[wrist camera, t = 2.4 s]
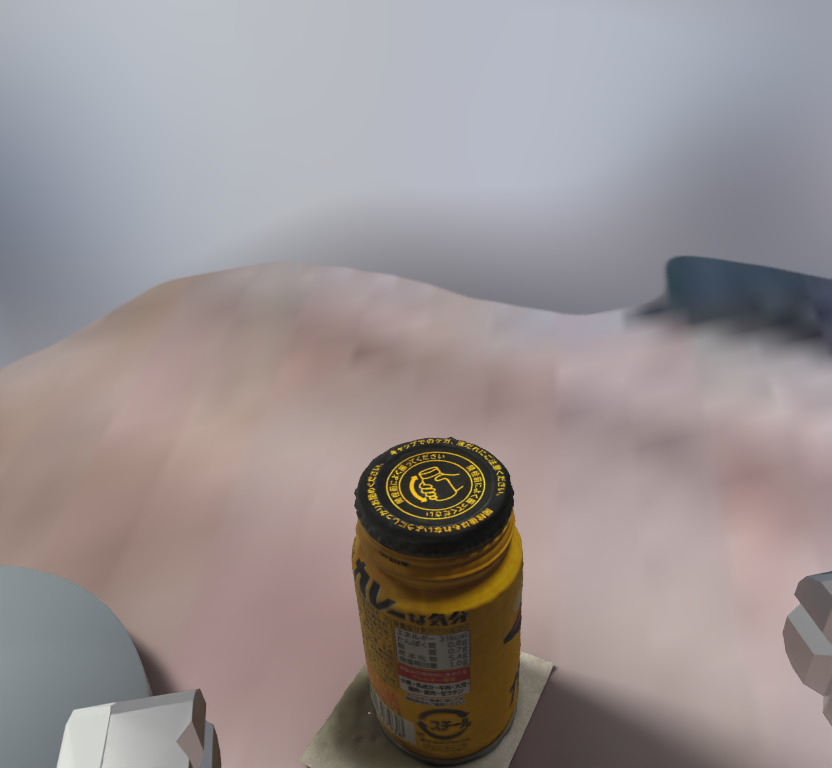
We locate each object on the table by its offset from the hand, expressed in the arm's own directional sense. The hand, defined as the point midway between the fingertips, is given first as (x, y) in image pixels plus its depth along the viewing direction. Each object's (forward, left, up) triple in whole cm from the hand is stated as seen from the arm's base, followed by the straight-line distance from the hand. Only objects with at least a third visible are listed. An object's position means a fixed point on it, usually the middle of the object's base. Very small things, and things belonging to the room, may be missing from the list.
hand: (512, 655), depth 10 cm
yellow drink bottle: (+12, 0, -20) cm, 24 cm away
